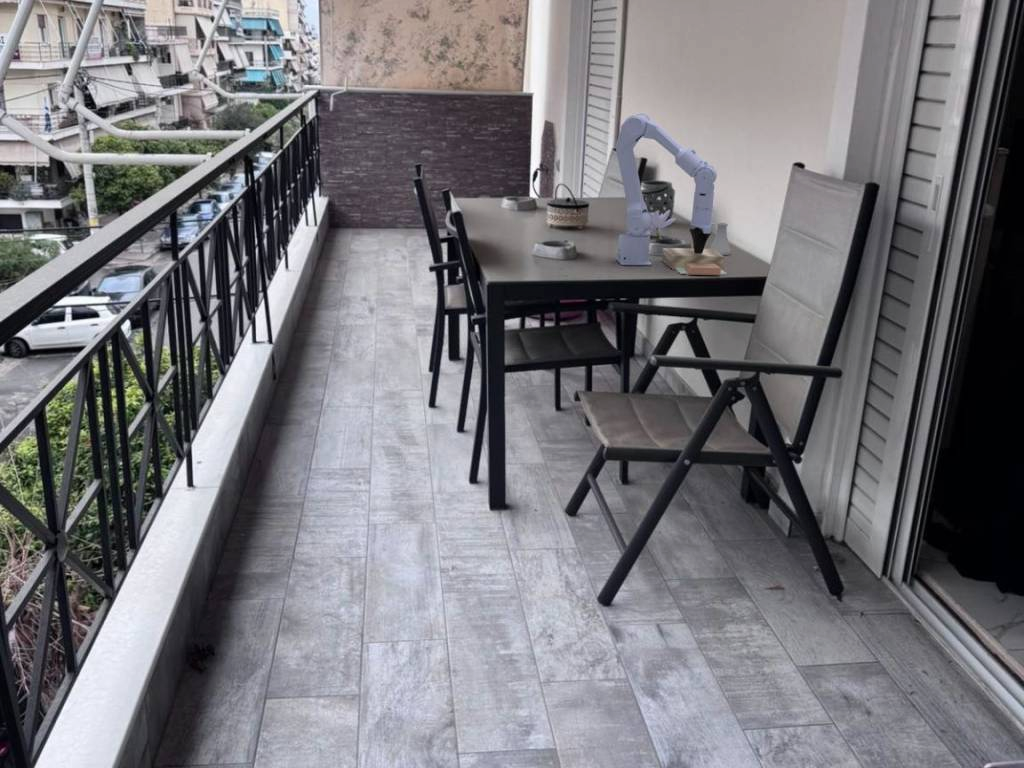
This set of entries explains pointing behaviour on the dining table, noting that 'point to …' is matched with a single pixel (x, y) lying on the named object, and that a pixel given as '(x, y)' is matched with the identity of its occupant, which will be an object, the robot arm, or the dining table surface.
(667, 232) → the dining table surface
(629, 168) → the robot arm
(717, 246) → the flask
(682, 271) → the mat
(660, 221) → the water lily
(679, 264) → the plate
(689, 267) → the tile
